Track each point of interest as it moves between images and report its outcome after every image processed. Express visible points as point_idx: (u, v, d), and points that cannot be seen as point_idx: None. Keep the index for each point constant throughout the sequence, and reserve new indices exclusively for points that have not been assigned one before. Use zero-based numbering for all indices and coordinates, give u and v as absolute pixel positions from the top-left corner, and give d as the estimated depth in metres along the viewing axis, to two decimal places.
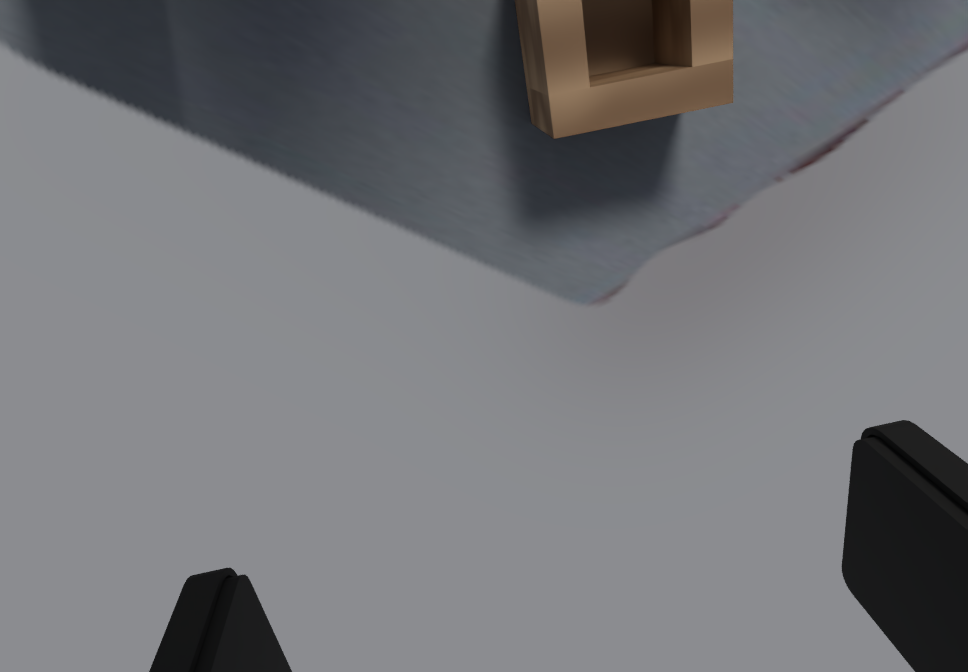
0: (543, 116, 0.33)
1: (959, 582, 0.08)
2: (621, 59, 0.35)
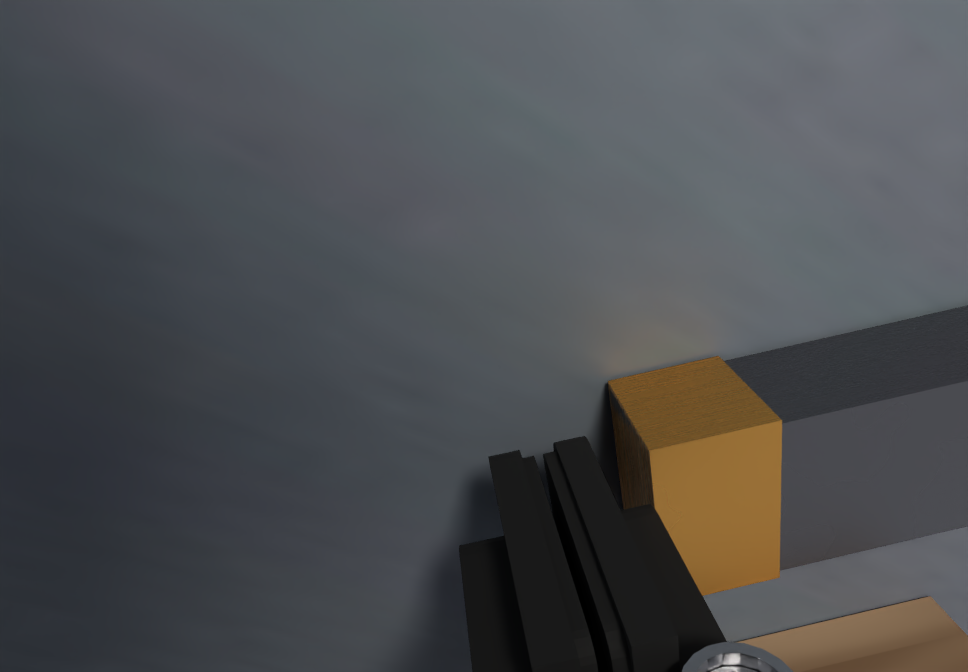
0: None
1: (579, 582, 0.09)
2: None
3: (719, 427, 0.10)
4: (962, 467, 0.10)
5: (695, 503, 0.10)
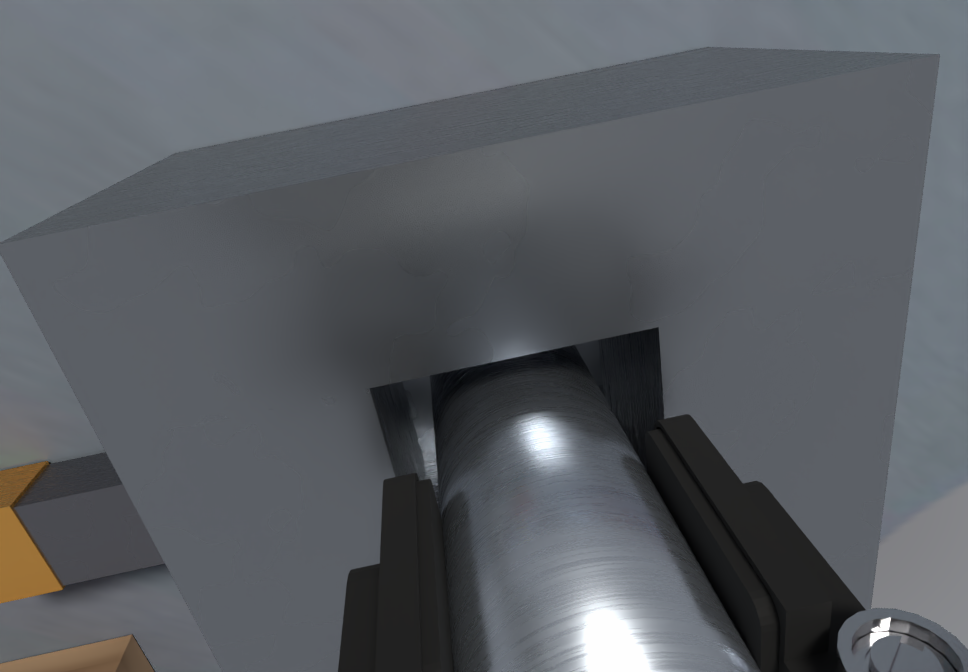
0: None
1: (699, 555, 0.09)
2: None
3: None
4: (146, 529, 0.19)
5: None
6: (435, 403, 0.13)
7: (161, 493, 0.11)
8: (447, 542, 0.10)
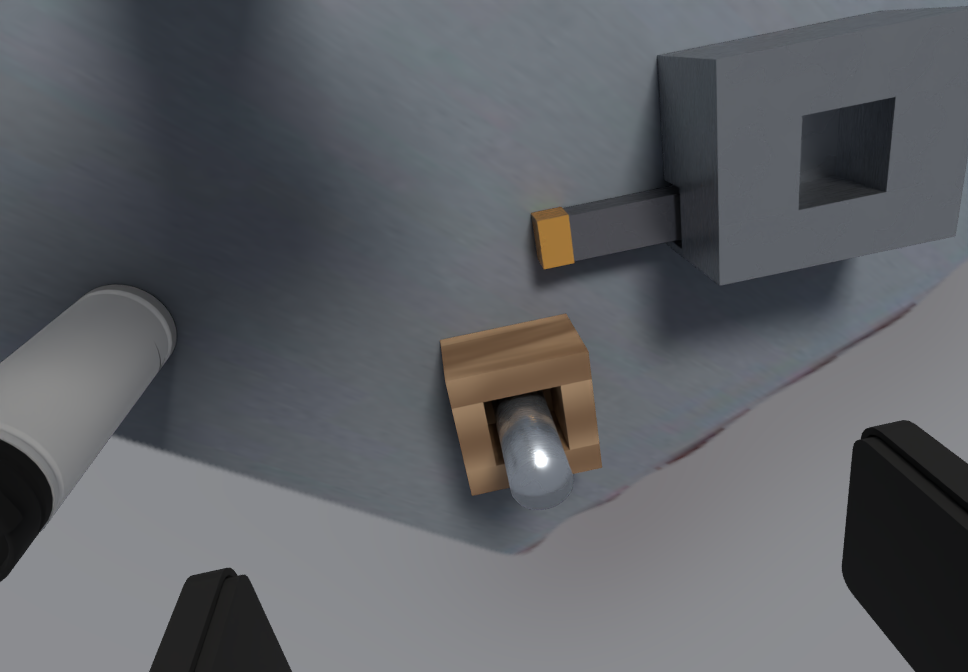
0: None
1: (959, 582, 0.08)
2: None
3: (554, 217, 0.40)
4: (618, 231, 0.41)
5: (549, 237, 0.40)
6: (494, 401, 0.43)
7: (727, 154, 0.33)
8: (501, 436, 0.39)
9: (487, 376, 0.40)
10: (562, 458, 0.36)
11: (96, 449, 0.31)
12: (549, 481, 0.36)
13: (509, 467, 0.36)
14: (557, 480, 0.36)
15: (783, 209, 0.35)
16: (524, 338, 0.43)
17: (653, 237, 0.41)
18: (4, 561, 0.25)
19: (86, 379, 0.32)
